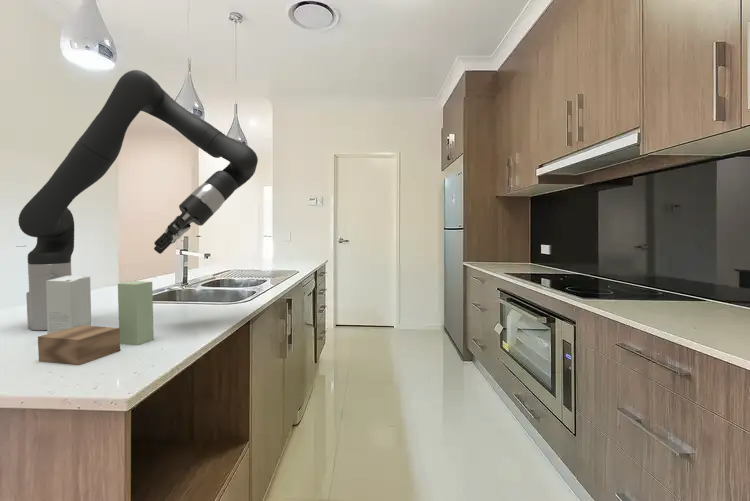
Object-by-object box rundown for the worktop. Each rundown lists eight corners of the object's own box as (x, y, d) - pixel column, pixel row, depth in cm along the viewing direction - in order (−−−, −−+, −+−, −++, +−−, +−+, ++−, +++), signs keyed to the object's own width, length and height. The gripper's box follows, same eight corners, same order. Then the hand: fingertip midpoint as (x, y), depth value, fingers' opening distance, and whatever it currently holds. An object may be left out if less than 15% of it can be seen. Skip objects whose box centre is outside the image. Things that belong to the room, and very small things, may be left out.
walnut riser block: (38, 361, 86) (37, 336, 86) (82, 347, 96) (81, 325, 96) (79, 364, 84) (78, 339, 84) (120, 350, 94) (119, 328, 94)
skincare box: (68, 333, 108) (66, 275, 107) (93, 333, 109) (91, 275, 108) (46, 342, 100) (43, 279, 99) (73, 342, 100) (71, 279, 100)
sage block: (119, 343, 99) (117, 283, 99) (136, 338, 104) (134, 281, 103) (137, 345, 98) (136, 284, 97) (153, 339, 103) (152, 281, 102)
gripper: (188, 200, 119) (144, 243, 112) (193, 186, 106) (143, 233, 99) (210, 219, 121) (168, 262, 114) (217, 207, 108) (170, 255, 101)
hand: (156, 249), depth 107 cm, fingers open, 8 cm apart
